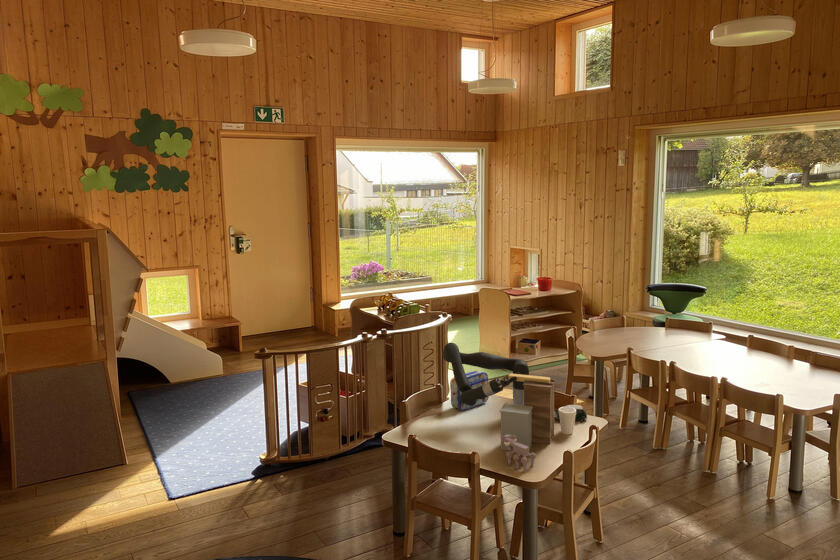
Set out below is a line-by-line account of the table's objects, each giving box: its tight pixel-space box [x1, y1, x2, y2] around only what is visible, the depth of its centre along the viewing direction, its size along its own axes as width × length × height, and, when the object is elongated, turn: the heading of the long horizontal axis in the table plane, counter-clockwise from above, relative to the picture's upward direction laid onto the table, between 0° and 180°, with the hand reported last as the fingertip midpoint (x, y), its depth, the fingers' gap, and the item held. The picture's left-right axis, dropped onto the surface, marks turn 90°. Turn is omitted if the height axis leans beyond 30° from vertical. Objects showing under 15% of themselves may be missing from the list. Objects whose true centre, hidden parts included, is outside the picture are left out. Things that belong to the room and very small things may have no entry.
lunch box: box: [449, 370, 490, 412], centre depth 398 cm, size 28×10×22 cm, turn 130°
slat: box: [507, 372, 551, 383], centre depth 347 cm, size 4×22×2 cm, turn 68°
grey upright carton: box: [499, 403, 533, 452], centre depth 339 cm, size 11×15×22 cm
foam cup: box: [558, 406, 576, 435], centre depth 357 cm, size 10×9×13 cm
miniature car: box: [554, 404, 588, 423], centre depth 375 cm, size 9×18×8 cm, turn 87°
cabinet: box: [523, 378, 556, 445], centre depth 348 cm, size 13×15×33 cm
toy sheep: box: [499, 434, 537, 473], centre depth 321 cm, size 20×11×14 cm, turn 42°
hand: (518, 375), depth 349 cm, fingers open, 7 cm apart
